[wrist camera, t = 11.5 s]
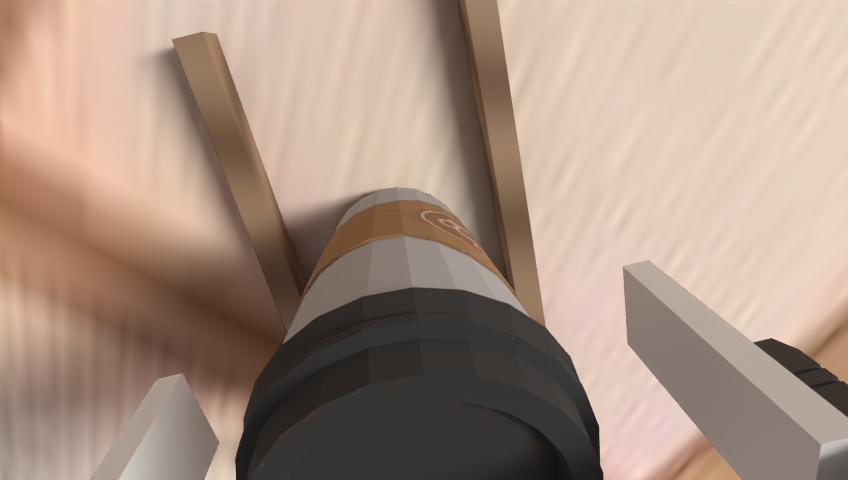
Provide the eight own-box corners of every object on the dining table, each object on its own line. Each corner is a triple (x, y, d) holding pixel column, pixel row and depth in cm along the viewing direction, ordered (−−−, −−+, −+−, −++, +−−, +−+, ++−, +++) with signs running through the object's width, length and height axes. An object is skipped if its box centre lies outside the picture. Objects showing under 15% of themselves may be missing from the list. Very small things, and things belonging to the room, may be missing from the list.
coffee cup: (515, 240, 24) (708, 496, 10) (404, 348, 26) (434, 697, 12) (392, 125, 21) (419, 252, 7) (277, 254, 23) (121, 556, 9)
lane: (187, 40, 19) (110, 33, 14) (482, -31, 19) (524, -67, 14) (330, 415, 27) (318, 510, 21) (543, 363, 27) (587, 444, 21)
